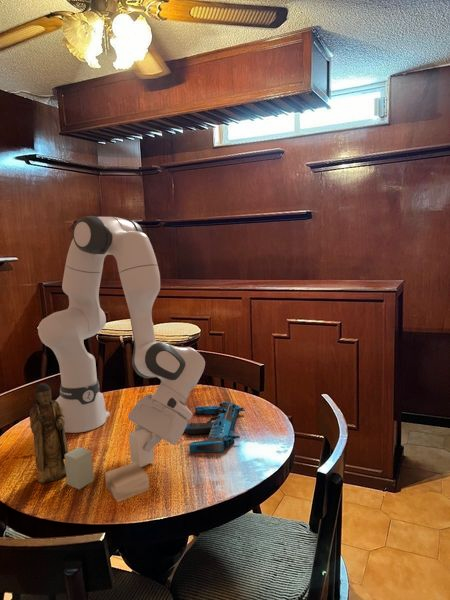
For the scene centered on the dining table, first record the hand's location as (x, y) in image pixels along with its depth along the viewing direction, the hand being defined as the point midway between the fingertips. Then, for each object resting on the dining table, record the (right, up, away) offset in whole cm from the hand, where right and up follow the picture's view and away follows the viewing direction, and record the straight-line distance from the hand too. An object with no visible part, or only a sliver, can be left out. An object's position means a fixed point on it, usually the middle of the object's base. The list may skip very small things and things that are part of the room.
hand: (139, 446), depth 115 cm
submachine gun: (+16, -2, +23) cm, 28 cm away
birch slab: (-1, -7, -10) cm, 12 cm away
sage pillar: (-14, -7, -7) cm, 16 cm away
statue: (-21, -7, -4) cm, 23 cm away
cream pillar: (+1, -4, +1) cm, 4 cm away
